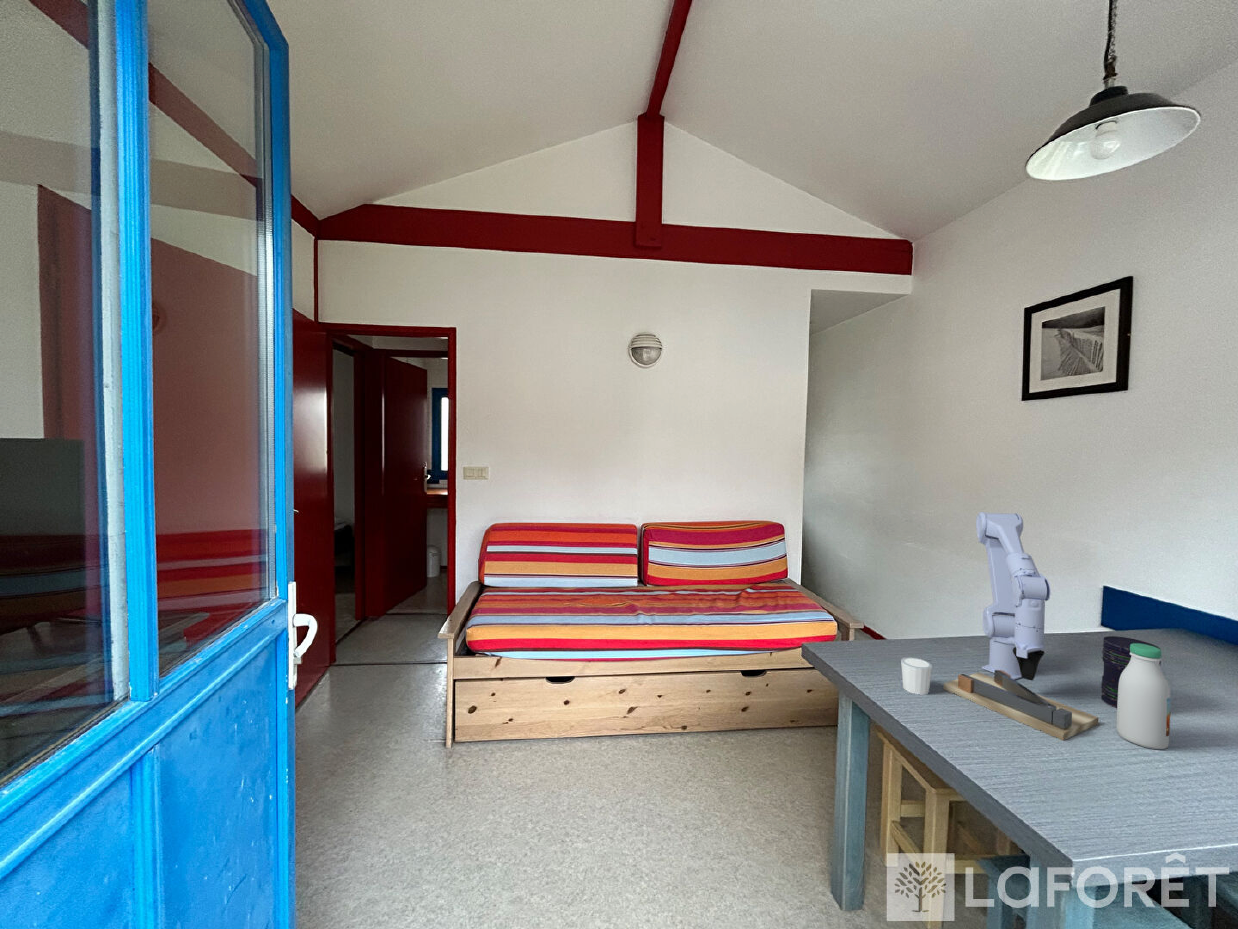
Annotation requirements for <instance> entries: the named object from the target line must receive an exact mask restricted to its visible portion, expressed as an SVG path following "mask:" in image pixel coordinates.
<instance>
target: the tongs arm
mask: <svg viewBox="0 0 1238 929" xmlns="http://www.w3.org/2000/svg"><path fill="white" fill-rule="evenodd" d="M993 674H994V676H993V678H994V682H996V683H997V684H999V685H1000V686H1001V687H1003V688H1004V689H1006V690H1007V691H1009V692H1011V693H1014V694H1016V695H1019V696H1021V697H1024V698H1026V699H1029V700H1032V701H1034V702H1037V703H1039V704H1042V705H1044V706H1047V707H1050V708H1052V709H1055V710H1057V707H1056V706H1055V705H1052V704H1050V703H1049V702H1047V701H1046V700H1044V699H1043V698H1041V697H1040V696H1041V695H1040V696H1038V695H1039V694H1038V695H1037V693H1035V692H1034V691H1032V690H1031V689H1030V688H1028V687H1026V686H1024V685H1023V684H1021V683H1020V682H1018V681H1016V679H1015V680H1014V679H1012V678H1011V675H1009V674H1008V673H1006V672H1005V671H1003V670H995V672H994V673H993Z"/></svg>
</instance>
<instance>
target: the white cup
mask: <svg viewBox="0 0 1238 929" xmlns="http://www.w3.org/2000/svg"><path fill="white" fill-rule="evenodd" d="M900 664H901V675H902V676H901V677H902V687H903V689H904V690H905V691H906V690H907V691H906V692H908V693H910V694H914V693H915V695H918V694H920V695H921V696H924V695H925V694H926V695H928V694H929V693H930V686H931V678H932V671H933V664H932V663H930V662H929V661H927V660H924V659H922V658H917V657H902V658H901V659H900ZM920 695H919V696H920Z"/></svg>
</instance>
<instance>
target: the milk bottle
mask: <svg viewBox="0 0 1238 929" xmlns="http://www.w3.org/2000/svg"><path fill="white" fill-rule="evenodd" d="M1160 649H1161V648H1160ZM1160 649H1158V648H1156V647H1153V646H1150V645H1145V644H1138V643H1133V644H1131V645H1130V655H1131V660H1130V662H1129V664H1128V665H1127V667H1126V668H1125V669H1124V670H1123V672H1122V674H1121V676H1120V679H1119V686H1118V703H1117V708H1116V709H1117V710H1116V733H1117V734H1118V735H1119V736H1120V737H1121V738H1122V739H1124V740H1125V741H1127V742H1130V743H1132V744H1134V745H1138V746H1140V747H1143V748H1148V749H1151V750H1152V749H1153V750H1166V749H1167V748H1168V747H1169V744H1170V728H1171V724H1170V723H1171V688H1170V686H1169V683H1168V681H1167V679H1166V677H1165V676H1164V673H1163V671H1162V668H1161V665H1160V664H1159V661H1161V662H1162V649H1161V650H1160Z"/></svg>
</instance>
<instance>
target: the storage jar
mask: <svg viewBox="0 0 1238 929" xmlns="http://www.w3.org/2000/svg"><path fill="white" fill-rule="evenodd" d="M1102 640H1103V641H1102V642H1103V644H1102V651H1101V653H1102V657H1101V659H1102V661H1103V675H1102V676H1101V683H1100V688H1101V696H1100V698H1101V700H1102V701H1103V702H1104V703H1105V704H1106V705H1108V706H1110V707H1112V708H1115V709H1117V703H1118V686H1119V679H1120V676H1121V674H1122V672H1123V670H1124V669H1125V668H1126V667H1127V665H1128V664H1129V662H1130V660H1131V655H1130V645H1131V644H1133V643H1138V644H1145V645H1150V646H1153V647H1156V648H1158V649H1160V650H1161V651H1162V649H1161V648H1160V647H1159V646H1157V645H1155V644H1153V643H1151V642H1147V641H1144V640H1139V639H1136V638H1130V637H1125V636H1117V635H1116V636H1115V635H1114V636H1113V635H1111V636H1104V637H1103V639H1102ZM1161 662H1162V660H1161V661H1159V664H1160V666H1162V665H1161V664H1162V663H1161Z"/></svg>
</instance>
